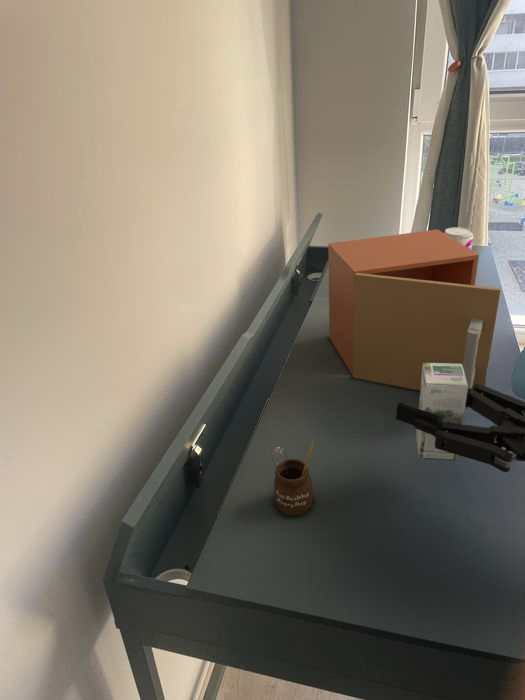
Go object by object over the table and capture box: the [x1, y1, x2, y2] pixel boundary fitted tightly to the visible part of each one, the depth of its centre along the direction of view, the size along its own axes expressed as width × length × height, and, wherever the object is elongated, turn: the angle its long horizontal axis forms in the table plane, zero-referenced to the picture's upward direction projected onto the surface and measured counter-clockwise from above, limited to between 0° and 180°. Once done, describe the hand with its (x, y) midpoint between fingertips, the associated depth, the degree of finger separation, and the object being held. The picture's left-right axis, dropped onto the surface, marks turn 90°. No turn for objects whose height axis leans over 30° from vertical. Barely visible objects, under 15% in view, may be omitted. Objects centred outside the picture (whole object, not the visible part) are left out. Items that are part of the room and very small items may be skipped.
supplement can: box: [443, 226, 474, 251], centre depth 150 cm, size 8×8×15 cm
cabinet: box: [327, 229, 480, 376], centre depth 118 cm, size 18×26×24 cm
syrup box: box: [415, 363, 468, 462], centre depth 79 cm, size 6×6×14 cm
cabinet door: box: [352, 273, 502, 395], centre depth 100 cm, size 7×26×24 cm, turn 64°
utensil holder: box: [270, 441, 314, 516], centre depth 81 cm, size 6×6×12 cm
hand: (410, 397), depth 82 cm, fingers closed on syrup box, 7 cm apart
